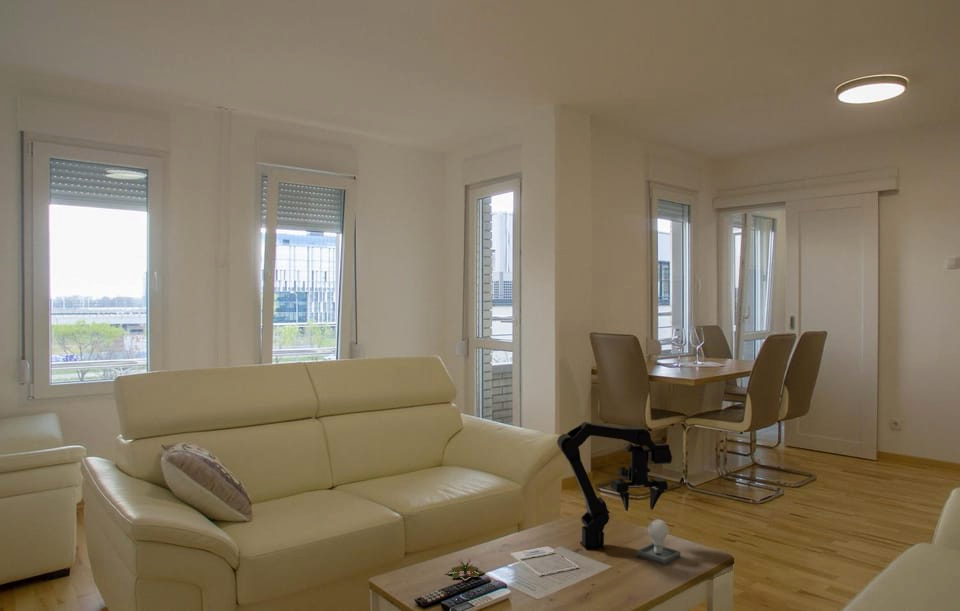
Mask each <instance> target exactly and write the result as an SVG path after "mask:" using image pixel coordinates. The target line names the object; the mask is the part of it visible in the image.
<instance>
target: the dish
mask: <svg viewBox="0 0 960 611" xmlns="http://www.w3.org/2000/svg"><path fill="white" fill-rule="evenodd" d="M636 557H637V558H638V557H639V558H641V559H643V558H644V560H646V559H647V561H649V560H650V562H652V561H653V563H655V562H656V563H655V564H658V563H659V565H661V564H662V566H664V567H665V566H667V565H669V564H671V563H672V562H674V561H676V560H677V559H679V558H681V551H680V550H678V549H677V550H676V549H674V548H670V547H667V546H664V545H662V553H660V554H656V553H655V552H654V544H653V542H651V543H650V544H648V545H645V546H643V547H641V548H639V549H637V550H636ZM666 564H667V565H666Z"/></svg>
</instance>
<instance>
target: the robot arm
mask: <svg viewBox="0 0 960 611" xmlns="http://www.w3.org/2000/svg"><path fill="white" fill-rule="evenodd" d="M591 436H593V437H601V438H610V439H616V440H623V441H625V442H627V443H629V444H628V445H626V447H624V449H625V451H627V452H629V453H630V465H628V469H627V468H626V467H619V468H618V477H619V479H612V480H611V481H610V489H612V490H614V491H615V492H616V493H618V494H619V496H620V499H621V501H622V504H623V508H624V511H626V512H628V511H629V506H630V505H629V504H630V502H629V500H630V492H628V491H629V489H633V488H634V489H635V488H636V489H639V488H649V491H650V494H649V508H650V510H652V511H654V510H653V509H654V508H655V506H656V505H657V503H658V500H659V499H660V497H661V496H662V494H663V493H665V491H668V490H669V483H668V481H667V480H665V479H663V478H661V477H651V478H650V479H649V473H650V472H651V468H649V462H651V463H652V465H671V463H672V460H673V456H672V451H671V449H670V445H669V444H668V443H654V441H653V439H652V438H651V437H652V436H651V433H650V431H649V430H647V429H646V428H644V427H642V426H640V425H629V426H628V425H627V426H622V427H621V426H615V425H607V424H599V423H592V422H588V421H584V422H582V423H580V424H579V425H578V426H576V427H574V428H573V429H570V431H569V430H568V432H567V433H562V434H561V435H560V436H558V438H557V441H556V443H557V444H556V445H557V447H558V448H559V450H560V451H561V453H562V454H563V456H564V457H565V459H566V460H567V462H569V465H570V467H571V470H572V472H573V474H574V477H575V478H576V481H577V483H578V486H579V488H580V491H581V492H582V495H583V497H584V501H585V508H586V512H585V513H584V514H583V515H582V516H581V517H580V520H581V522H582V525H584V526H581V541H579V544H580V545H581V546H582V547H583V548H584V549H585V550H587V551H591V550H594V551H595V550H604V549H605V546H604V545H605V533H604V528H605V526H606V525H607V524H608V523H609V520H610V514H611V512H610V511H609V509H608V507H607V503H606V501H605V500H604V499H603V497H601V496H597V494H596V491H595V490H594V487H593V485H592V483H591V480H590V477H589V476H588V474H587V471H586V469H585V467H584V464H583V462H582V458H581V453H580V448H579V447H580V446H582V445H583V444H584V443H585V442H586V440H587V439H589V437H591ZM633 444H634V445H633ZM620 478H621V479H620ZM622 478H623V479H622ZM625 480H626V481H625ZM627 481H628V482H627Z"/></svg>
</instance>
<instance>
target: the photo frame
mask: <svg viewBox="0 0 960 611" xmlns="http://www.w3.org/2000/svg"><path fill="white" fill-rule="evenodd" d="M554 550H555V549H553V548H552V547H550V546H543V547H542V546H541V547H537V548H531V549H527V550H520V551H515V552H510V553H509V555H510V556H511V557H512V556H513V557H512V558H513V559H515V560H516V561H517V560H518V562H519V563H520V562H521V563H522V565H523V564H524V565H525V566H527V567H528V568H530V569H531V570H532V571H534V572H535V573H536V574H538V575H542V574H541V573H539V572H538V571H536V569H534V568H533V567H532V566H529V565H528V563H526V562H524V560H523V559H525V560H529V559H528V558H531V559H533V558H532V557H536V556H540V555H545V554H547V553H549V552H553V551H554ZM536 558H537V557H536ZM565 559H566V560H567V561H569V562H570V563H572V564H573V565H574V566H575V567H574V566H573V565H572V566H571V567H567V568H561V569H556V570H557V571H563V570H568V569H574V568H579V569H580V566H579V565H577V564H576V563H574V562H573V561H572V560H570V559H568V558H567V557H565ZM567 561H566V562H567ZM521 563H520V564H521ZM570 563H569V564H570ZM524 565H523V566H524ZM525 566H524V567H525ZM527 567H526V568H527ZM528 568H527V569H528ZM556 570H553V571H554V572H555V571H556ZM574 570H575V569H574ZM532 571H531V572H532ZM557 571H556V572H557ZM547 572H548V573H550V572H551V571H547ZM542 573H543V574H544V573H545V574H547V573H546V572H542ZM551 573H552V572H551ZM536 574H535V575H536Z"/></svg>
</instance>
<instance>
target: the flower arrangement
mask: <svg viewBox="0 0 960 611" xmlns="http://www.w3.org/2000/svg"><path fill="white" fill-rule="evenodd" d="M458 562H459V563H460V564H459V565H458V566H454V567H451V569H452V570H449V571H447V572H448V573H449V572H454V571H455V572H457V573H454V574H453V575H450V574H448V575H450V576H452V577H456V578H455V579H457V578H459V579H460V580H462V579H461V578H460V577H464V576H459V574H460V573H459V572H460V571H464V573H463V574H464V575H467V576H466V577H468V576H469V577H471V578H474V576H478V577H479V575H482V574H486V572H485V571H482V570H479V569H478V567H477V566H473V565H474V564H470V562H471V558H469V559H468V561H467V562H465V564H464V562H463V561H462V559H461V558H460V560H458ZM469 565H470V566H469ZM465 567H466V568H465ZM467 571H470V573H471V574H470V575H468V574H467ZM474 571H476V572H478V573H479V574H477V573H475V572H474ZM472 572H473V573H472ZM465 573H466V574H465Z"/></svg>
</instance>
